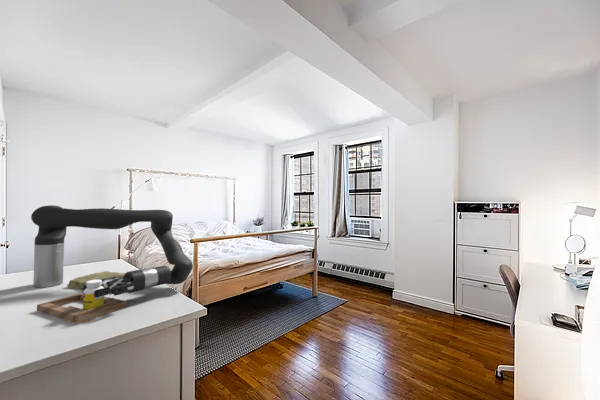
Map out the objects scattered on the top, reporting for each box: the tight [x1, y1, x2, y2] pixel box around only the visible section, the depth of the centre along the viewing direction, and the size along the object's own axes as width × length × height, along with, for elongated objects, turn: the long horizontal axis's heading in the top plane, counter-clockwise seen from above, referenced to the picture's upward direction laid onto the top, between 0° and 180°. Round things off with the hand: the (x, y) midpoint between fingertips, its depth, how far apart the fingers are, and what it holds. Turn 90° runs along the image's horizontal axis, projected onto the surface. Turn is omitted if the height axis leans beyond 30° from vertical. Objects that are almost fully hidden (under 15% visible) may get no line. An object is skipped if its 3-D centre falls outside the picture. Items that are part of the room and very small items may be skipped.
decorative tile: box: [66, 270, 126, 290], centre depth 117 cm, size 19×20×4 cm
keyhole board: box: [36, 292, 127, 325], centre depth 90 cm, size 22×14×2 cm, turn 68°
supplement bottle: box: [82, 280, 104, 310], centre depth 88 cm, size 5×5×10 cm
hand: (88, 291), depth 86 cm, fingers open, 8 cm apart
